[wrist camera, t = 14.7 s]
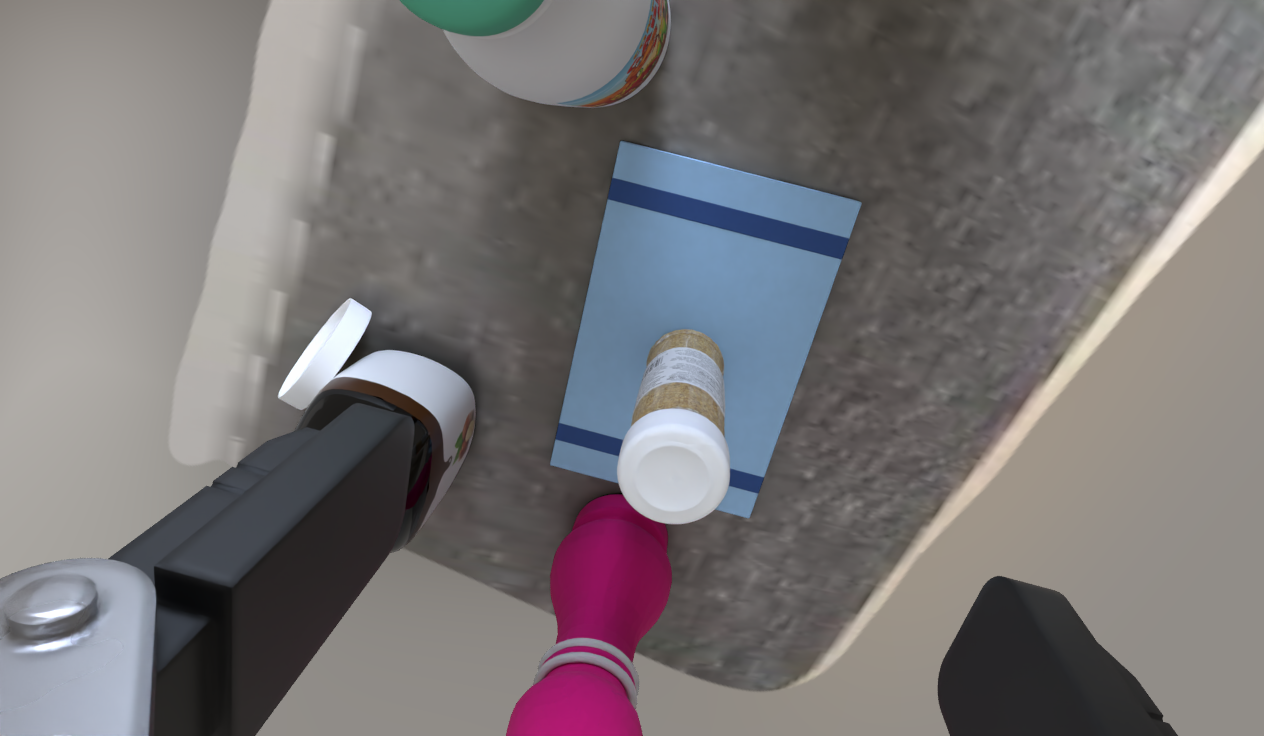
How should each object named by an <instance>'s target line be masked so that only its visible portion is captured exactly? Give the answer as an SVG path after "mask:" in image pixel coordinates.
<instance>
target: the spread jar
mask: <svg viewBox="0 0 1264 736" xmlns="http://www.w3.org/2000/svg"><path fill="white" fill-rule="evenodd" d="M371 316H372V312H371V311H370V310H368V309H367V308H365V307H364V306H362V305H361V304H359V303H358V302H356V301H355V300H353V299H351V298H350V299H348V300H347V301H346V302H344V303H343V304H342V305H341V306H340V307H339V308H338V309H337V311H336V312H335V313H334V314H333V315H332V316H331V317H330V319H329V320H328V321H327V322H326V323H325V325H324V326H323V327H322V328H321V330H320V331H319V332H318V333H317V335H316V336H315V337H314V339H313V340H312V341H311V343H310V344H309V345H308V347H307V348H306V350H305V351H304V352H303V354H302V355H301V357H300V358H299V360H298V361H297V363H296V364H295V366H294V367H293V369H292V370H291V372H290V373H289V375H288V377H287V378H286V380H285V382H284V383H283V385H282V387H281V389H280V391H279V394H278V398H279V399H281V400H283V401H285V402H286V403H288V404H290V405H292V406H294V407H295V408H297V409H299V410H303V409H305V408H306V407H307V406H308V407H307V408H306V410H305V412H304V414H303V415H302V417H301V419H300V421H299V422H298V424H297V426H296V428H295V430H294V431H297V430H300V429H303V428H305V427H308V428H311V429H315V430H319V431H320V430H322V429H323V428H324V427H325V426H327V425H328V424H329V423H330V422H332V421H333V420H334V419H335V418H336V417H338V416H339V415H340V414H341V413H343V412H344V411H345V410H346V409H348V408H349V407H350V406H351V405H353V404H355V403H361V404H365V405H368V406H372V407H376V408H380V409H383V410H387V411H391V412H395V413H398V414H402V415H406V416H410V417H411V418H412V419H413V422H414V440H413V449H412V457H411V465H410V474H409V482H408V490H407V498H406V507H405V513H404V518H403V522H402V526H401V529H400V532H399V534H398V537H397V539H396V541H395V544H394V546H393V548H392V550H391V551H390V553H392V552H395V551H398V550H400V549H401V548H403V547H404V546H405V545H407V544H408V543H409V542H410V541H411V540H412V539H413V538H414V536H415V535H416V534H417V533H418V531H419V530H420V529H421V527H422V526H423V525H424V523H425V522H426V520H427V519H428V518H429V516H430V515H431V513H432V512H433V511H434V509H435V508H436V506H437V505H438V504H439V502H440V501H441V499H442V498H443V496H444V495H445V493H446V492H447V490H448V489H449V487H450V485H451V484H452V482H453V480H454V478H455V477H456V475H457V473H458V471H459V469H460V467H461V465H462V464H463V462H464V459H465V457H466V455H467V453H468V450H469V448H470V445H471V442H472V439H473V436H474V432H475V426H476V401H475V397H474V393H473V391H472V389H471V387H470V386H469V384H468V383H467V382H466V381H465V380H464V379H463V378H462V377H461V376H460V375H458V374H457V373H456V372H454V371H453V370H451V369H449V368H448V367H446V366H444V365H442V364H440V363H438V362H436V361H434V360H431V359H429V358H426V357H423V356H420V355H416V354H413V353H408V352H403V351H396V350H384V351H377V352H374V353H372V354H369V355H367V356H365V357H363V358H362V359H360V360H358V361H357V362H355V363H354V364H352V365H351V366H350V367H348V368H347V369H345V370H344V371H342V372H341V373H339V374H338V375H337V376H335V375H336V374H337V373H338V371H339V370H340V369H341V367H342V366H343V364H344V363H345V362H346V360H347V359H348V357H349V356H350V354H351V353H352V351H353V350H354V348H355V347H356V345H357V344H358V342H359V340H360V339H361V337H362V335H363V334H364V332H365V330H366V328H367V326H368V324H369V322H370V319H371ZM334 376H335V377H334Z"/></svg>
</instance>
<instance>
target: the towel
mask: <svg viewBox="0 0 1264 736" xmlns="http://www.w3.org/2000/svg"><path fill="white" fill-rule="evenodd" d="M861 204H862V203H861V202H860V201H857V200H853V199H849V198H845V197H841V196H837V195H833V194H830V193H826V192H822V191H818V190H814V189H810V188H806V187H802V186H798V185H794V184H790V183H787V182H783V181H779V180H775V179H771V178H767V177H763V176H759V175H755V174H751V173H747V172H744V171H740V170H736V169H732V168H728V167H724V166H720V165H716V164H712V163H708V162H704V161H701V160H697V159H693V158H689V157H685V156H681V155H677V154H673V153H669V152H665V151H661V150H658V149H654V148H650V147H646V146H642V145H638V144H634V143H630V142H626V141H620V144H619V149H618V153H617V158H616V163H615V167H614V172H613V176H612V181H611V185H610V190H609V195H608V199H607V204H606V209H605V213H604V218H603V222H602V227H601V232H600V236H599V241H598V245H597V250H596V255H595V259H594V264H593V268H592V273H591V278H590V282H589V287H588V291H587V296H586V301H585V305H584V310H583V314H582V319H581V324H580V328H579V333H578V337H577V342H576V347H575V351H574V356H573V360H572V365H571V370H570V374H569V379H568V383H567V388H566V393H565V397H564V402H563V406H562V411H561V416H560V420H559V424H558V429H557V434H556V438H555V443H554V448H553V452H552V457H551V462H550V465H552V466H555V467H559V468H563V469H567V470H570V471H574V472H578V473H581V474H585V475H589V476H593V477H596V478H600V479H604V480H608V481H611V482H615V483H618V478H617V465H618V459H619V454H620V450H621V446H622V443H623V440H624V438H625V435H626V434H627V432H628V430H629V429H630V428H631V423H632V415H633V411H634V407H635V404H636V399H637V396H638V392H639V389H640V386H641V382H642V378H643V375H644V372H645V370H646V368H647V367H646V364H647V358H648V355H649V352H650V350H651V348H652V346H653V345H654V344H655V343H656V341H657V340H659V339H660V338H661V337H662V336H663V335H665V334H667V333H669V332H672V331H675V330H681V329H689V330H690V329H693V330H695V331H698V332H701V333H703V334H705V335H706V336H708V337H709V338H711V339H712V340H713V341H714V342H715V343H716V344H717V345H718V347H719V349H720V351H721V354H722V356H723V360H724V375H723V379H724V391H725V419H724V424H725V425H724V432H725V433H724V434H725V435H724V436H725V440H726V442H727V445H728V449H729V455H730V481H729V486H728V490H727V492H726V494H725V496H724V498H723V500H722V501H721V503H720V504H719V505H718V506H717V508H716V509H715V510H719V511H723V512H727V513H730V514H734V515H738V516H742V517H745V518H750V515H751V512H752V510H753V507H754V504H755V501H756V498H757V496H758V493H759V491H760V488H761V485H762V482H763V479H764V476H765V473H766V470H767V468H768V465H769V462H770V459H771V456H772V454H773V451H774V448H775V445H776V442H777V440H778V437H779V434H780V431H781V428H782V426H783V423H784V420H785V417H786V414H787V412H788V409H789V406H790V403H791V400H792V398H793V395H794V392H795V389H796V386H797V384H798V381H799V378H800V375H801V372H802V369H803V367H804V364H805V361H806V358H807V355H808V353H809V350H810V347H811V344H812V341H813V339H814V336H815V333H816V330H817V327H818V325H819V322H820V319H821V316H822V313H823V311H824V308H825V305H826V302H827V299H828V297H829V294H830V291H831V288H832V285H833V283H834V280H835V277H836V274H837V271H838V269H839V266H840V263H841V260H842V258H843V255H844V252H845V249H846V247H847V244H848V241H849V238H850V235H851V232H852V229H853V227H854V224H855V221H856V218H857V215H858V212H859V210H860V207H861Z"/></svg>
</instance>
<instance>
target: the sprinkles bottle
mask: <svg viewBox="0 0 1264 736" xmlns="http://www.w3.org/2000/svg"><path fill="white" fill-rule="evenodd" d="M646 367H647V368H646V370H645V372H644V375H643V378H642V382H641V386H640V389H639V392H638V396H637V399H636V404H635V407H634V411H633V415H632V423H631V428H630V429H629V430H628V432H627V434H626V435H625V438H624V440H623V443H622V446H621V450H620V454H619V459H618V465H617V478H618V483H619V486H620V489H621V491H622V493H623V495H624V497H625V499H626V500H627V501H628V503H629V504H630V505H631V506H632V507H633V508H634V509H635V510H636V511H638V512H639V513H640V514H642V515H644V516H645V517H647V518H649V519H651V520H654V521H657V522H661V523H666V524H685V523H690V522H693V521H697V520H699V519H701V518H703V517H705V516H707V515H708V514H709V513H711V512H712V511H713V510H714V509H716V508H717V506H718V505H719V504H720V503H721V501H722V500H723V498H724V496H725V494H726V492H727V490H728V486H729V481H730V455H729V449H728V445H727V442H726V440H725V436H724V435H725V434H724V433H725V432H724V425H725V424H724V419H725V391H724V379H723V375H724V360H723V356H722V354H721V351H720V349H719V347H718V345H717V344H716V343H715V342H714V341H713V340H712V339H711V338H709V337H708V336H706V335H705V334H703V333H701V332H698V331H695V330H693V329H690V330H689V329H681V330H675V331H672V332H669V333H667V334H665V335H663V336H662V337H661V338H660V339H659V340H657V341H656V343H655V344H654V345H653V346H652V348H651V350H650V352H649V355H648V358H647V364H646Z"/></svg>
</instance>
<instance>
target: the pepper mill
mask: <svg viewBox="0 0 1264 736" xmlns="http://www.w3.org/2000/svg"><path fill="white" fill-rule="evenodd" d="M667 544H668V534H667V529H666V526H665V523H661V522H657V521H654V520H651V519H649V518H647V517H645V516H644V515H642V514H640V513H639V512H638V511H636V510H635V509H634V508H633V507H632V506H631V505H630V504H629V503H628V501H627V500H626V499H625V497H624V495H622V494H613V495H606V496H602V497H599V498H597V499H594V500H593V501H591V502H590V503H588V504H587V505H586V506H585V507H584V508H583V509H582V510H581V511H580V513H579V514H578V516H577V518H576V520H575V523H574V526H573V529H572V532H571V533H570V534H569V535H568V536H567V537H565V538H564V540H563V541H562V542H561V544H560V546H559V547H558V549H557V551H556V554H555V556H554V560H553V565H552V569H551V574H550V588H551V599H552V603H553V607H554V610H555V614H556V618H557V624H558V636H557V640H556V645H554V646H552V647H551V648H550V649H549V650H548V651H547V652H546V653H545V654H544V656H543V657H542V659H541V661H540V664H539V667H538V672H537V674H536V676H535V679H534V683H533V686H532V687H531V688H530V689H529V690H528V691H527V692H526V693H525V694H524V695H523V696H522V697H521V698H520V700H519V701H518V702H517V703H516V706H515V708H514V710H513V712H512V714H511V718H510V721H509V725H508V729H507V733H506V736H643V735H642V730H641V725H640V721H639V718H638V715H637V712H636V710H635V709H636V705H637V695H638V690H639V678H638V674H637V671H636V669H635V667H634V665H633V663H632V662H633V658H634V653H635V649H636V646H637V644H638V642H639V640H640V639H641V638H642V637H643V636H644V635H645V634H646V633H647V632H648V631H649V630H650V629H651V627H652V626H653V625H654V624H655V623H656V622H657V620H658V619H659V617H660V615H661V613H662V612H663V610H664V608H665V606H666V604H667V601H668V597H669V593H670V588H671V583H672V572H671V566H670V562H669V559H668V556H667V554H666V553H667Z"/></svg>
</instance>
